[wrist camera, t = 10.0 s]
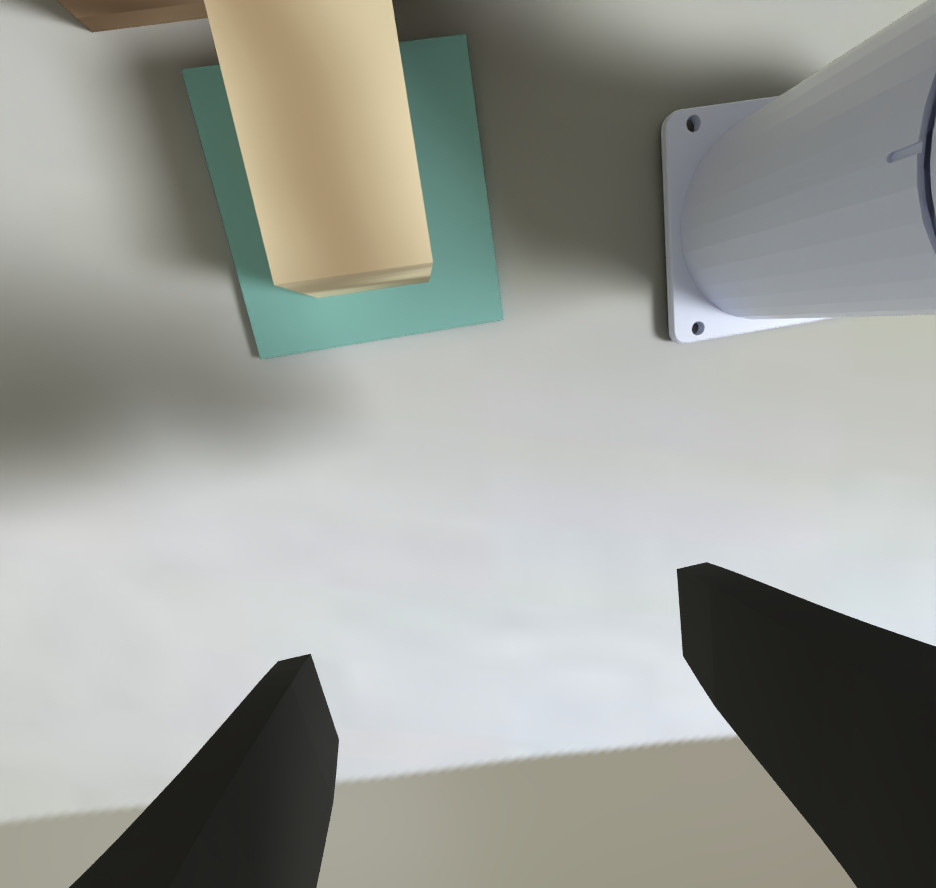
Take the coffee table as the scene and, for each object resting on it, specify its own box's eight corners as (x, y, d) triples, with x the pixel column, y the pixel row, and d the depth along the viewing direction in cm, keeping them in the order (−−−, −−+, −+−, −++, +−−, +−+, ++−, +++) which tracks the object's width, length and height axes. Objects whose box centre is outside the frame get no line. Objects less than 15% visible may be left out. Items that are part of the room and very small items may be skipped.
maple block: (397, 89, 15) (387, -28, 10) (429, 281, 16) (432, 262, 11) (274, 103, 14) (201, -8, 10) (317, 298, 16) (274, 284, 11)
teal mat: (464, 41, 15) (465, 33, 15) (501, 319, 17) (503, 319, 17) (187, 75, 14) (181, 69, 14) (264, 358, 17) (260, 359, 16)
